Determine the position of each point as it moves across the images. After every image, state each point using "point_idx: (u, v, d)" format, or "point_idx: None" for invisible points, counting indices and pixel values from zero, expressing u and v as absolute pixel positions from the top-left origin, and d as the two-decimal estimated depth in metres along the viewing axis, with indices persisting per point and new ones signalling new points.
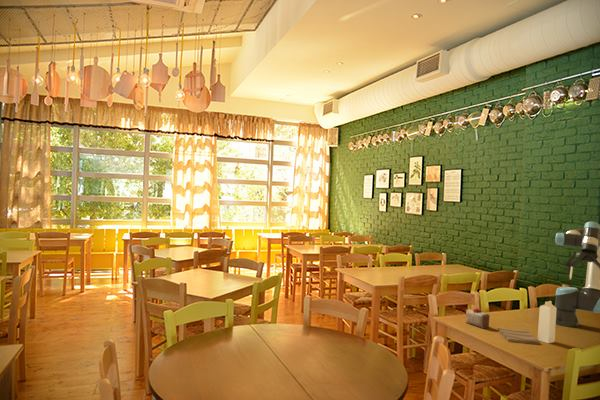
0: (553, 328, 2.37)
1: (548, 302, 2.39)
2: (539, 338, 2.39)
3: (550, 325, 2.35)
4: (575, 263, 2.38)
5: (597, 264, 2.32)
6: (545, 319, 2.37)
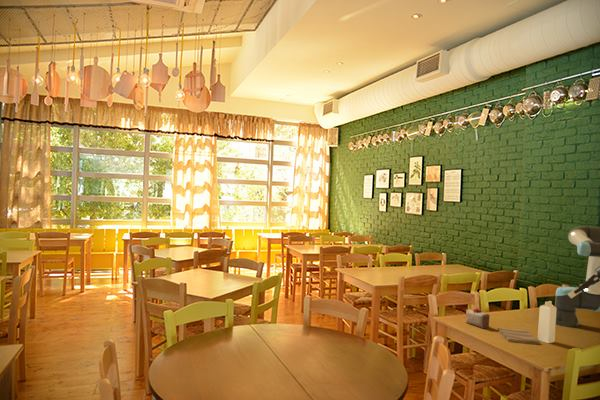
0: (553, 328, 2.37)
1: (548, 302, 2.39)
2: (539, 338, 2.39)
3: (550, 325, 2.35)
4: None
5: None
6: (545, 319, 2.37)
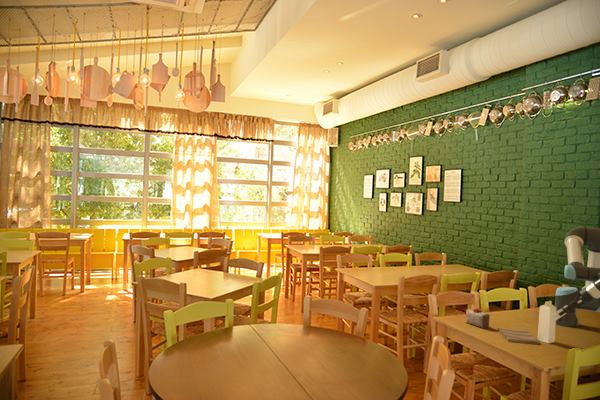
0: (553, 328, 2.37)
1: (548, 302, 2.39)
2: (539, 338, 2.39)
3: (550, 325, 2.35)
4: None
5: None
6: (545, 319, 2.37)
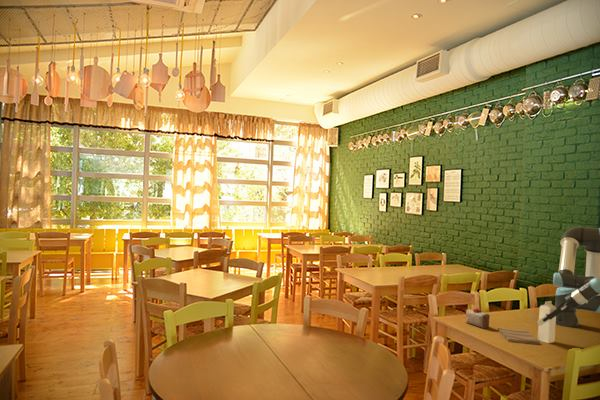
0: (553, 328, 2.37)
1: (548, 302, 2.39)
2: (539, 338, 2.39)
3: (550, 325, 2.35)
4: None
5: None
6: None
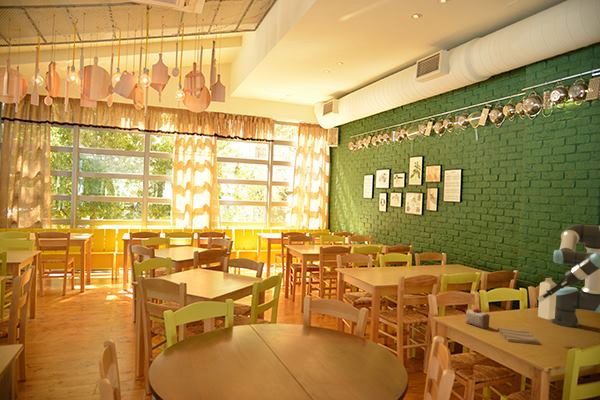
0: (554, 304, 2.37)
1: (548, 278, 2.38)
2: (539, 315, 2.39)
3: (550, 302, 2.35)
4: None
5: None
6: None
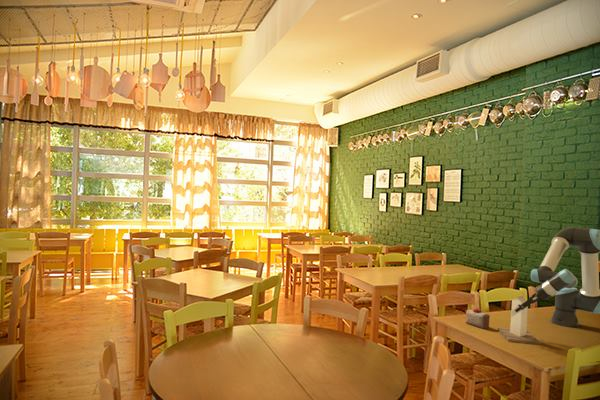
0: (525, 321, 2.41)
1: (520, 296, 2.43)
2: (511, 331, 2.43)
3: (521, 319, 2.39)
4: None
5: None
6: (517, 313, 2.41)
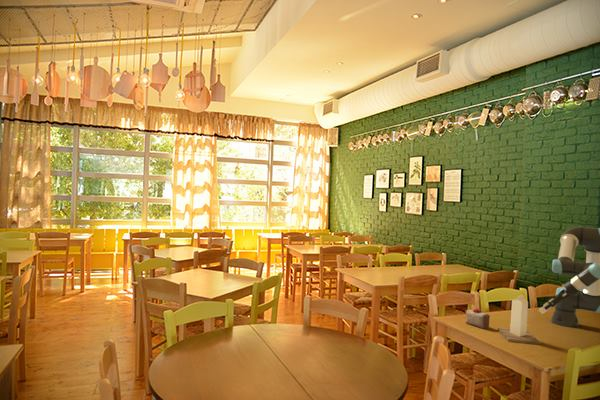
0: (525, 322, 2.41)
1: (520, 296, 2.43)
2: (511, 332, 2.43)
3: (521, 319, 2.39)
4: None
5: None
6: (517, 313, 2.41)
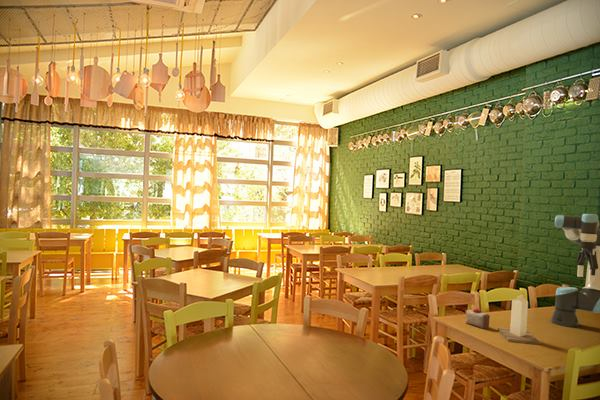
0: (525, 322, 2.41)
1: (520, 296, 2.43)
2: (511, 332, 2.43)
3: (521, 319, 2.39)
4: None
5: (584, 260, 2.48)
6: (517, 313, 2.41)
